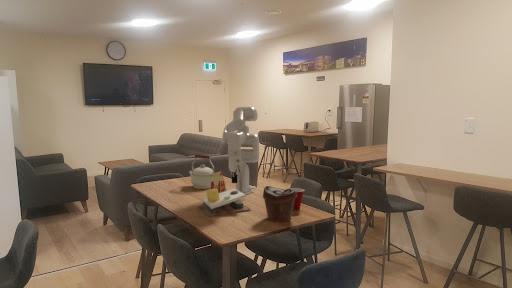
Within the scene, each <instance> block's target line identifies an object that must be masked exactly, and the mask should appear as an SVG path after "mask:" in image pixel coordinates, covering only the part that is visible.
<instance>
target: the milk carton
mask: <svg viewBox="0 0 512 288" xmlns="http://www.w3.org/2000/svg"><path fill="white" fill-rule="evenodd" d="M215 188H216V189H218V192H219V193H221V192H224V191H227V187H226V182H225V178H224V174H223V173H222V171H221V170H220V171H217V172H214V173H212V178H211V188H210V189H215Z"/></svg>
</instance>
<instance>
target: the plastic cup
mask: <svg viewBox="0 0 512 288" xmlns="http://www.w3.org/2000/svg"><path fill="white" fill-rule="evenodd" d="M287 189H291V190H295V191H296V193H297V196H298V198H297V199H295V201H294V206H293V210H299V209H300V208H301V206H302V200H303V195H304V193H305V189H303V188H298V187H288V188H287Z"/></svg>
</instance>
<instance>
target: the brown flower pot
mask: <svg viewBox="0 0 512 288" xmlns="http://www.w3.org/2000/svg"><path fill="white" fill-rule="evenodd" d="M262 193H263V194H262V198H263V199H264V205H265V208H266V209H265V210H266V215H267V219H268V220H269V221H272V222H276V223H283V222H289V221H290V220H291V219H292V214H293V210H294V209H293V206H294V201H295V199H297V198H298V196H297V193H296V191H295V190H291V189H288V188H287V189H284V188H280V187H276V186H275V187H274V186H271V185H270V186H269V185H266V186H265V187H264V188H263V192H262Z"/></svg>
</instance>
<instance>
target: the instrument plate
mask: <svg viewBox="0 0 512 288" xmlns="http://www.w3.org/2000/svg"><path fill="white" fill-rule="evenodd" d="M246 195H247V194H244V193H242V192H240V191H238V190H237V189H236V187H235V188H230V189H228V190H227V189H226V191H224V192H221V193H219V192H218V189H216V188H215V189H211V188H209V189H208V190H206V197H203V198H202V199H201V201H202V203H203V202H204V203H205V204H206V205H208V206H209V207H210V208H211V209H213V208H216V207H219V206H222V205H225V204H227V203H230V202H233V201H236V200H238V201H240V200H241V199H244V198H246V197H247V196H246Z"/></svg>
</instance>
